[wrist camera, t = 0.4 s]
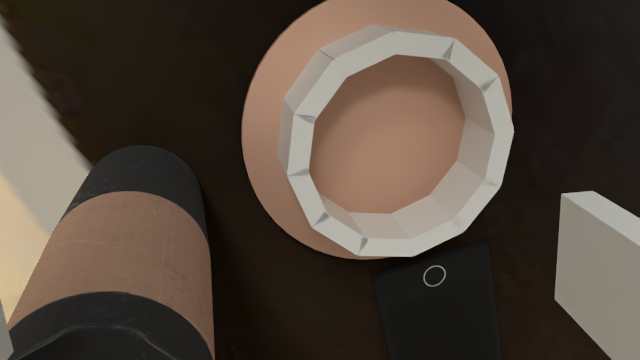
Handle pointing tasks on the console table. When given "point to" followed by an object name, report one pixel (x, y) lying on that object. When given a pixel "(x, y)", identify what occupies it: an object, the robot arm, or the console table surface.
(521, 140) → the console table surface
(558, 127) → the console table surface
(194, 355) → the travel mug
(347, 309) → the console table surface
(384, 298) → the cell phone
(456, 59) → the white and pink ring
